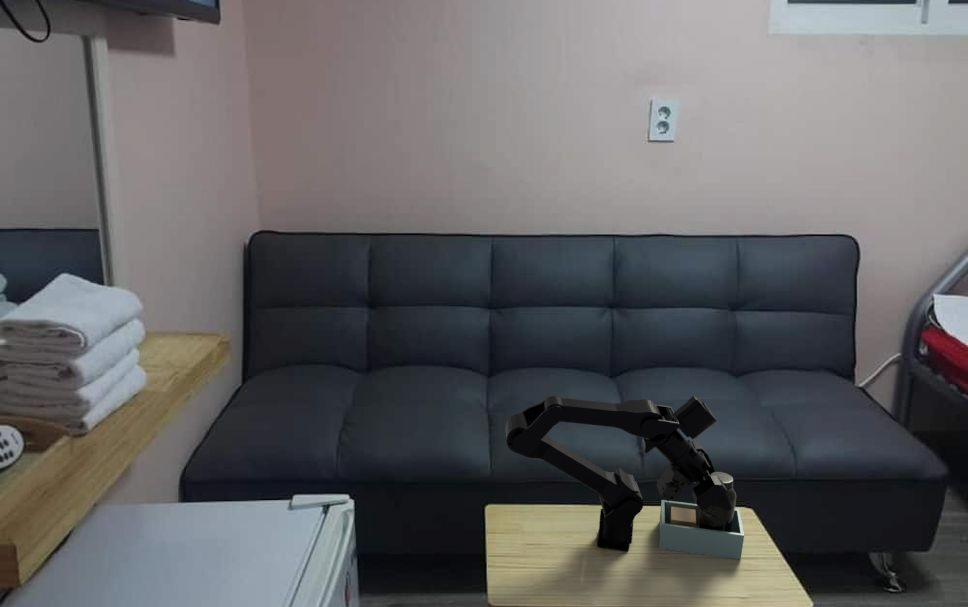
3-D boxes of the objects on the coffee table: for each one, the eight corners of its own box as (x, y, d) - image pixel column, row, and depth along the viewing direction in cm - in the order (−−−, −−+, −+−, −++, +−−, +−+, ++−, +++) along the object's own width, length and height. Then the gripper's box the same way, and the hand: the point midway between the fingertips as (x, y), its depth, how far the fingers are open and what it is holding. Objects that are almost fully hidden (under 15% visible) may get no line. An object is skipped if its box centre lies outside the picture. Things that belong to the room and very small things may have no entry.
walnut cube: (668, 540, 170) (671, 519, 168) (668, 526, 175) (671, 506, 173) (693, 543, 169) (696, 522, 167) (692, 530, 174) (695, 509, 172)
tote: (659, 548, 168) (661, 524, 166) (659, 522, 177) (661, 499, 176) (740, 559, 165) (744, 535, 164) (736, 532, 174) (739, 509, 173)
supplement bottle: (737, 536, 167) (745, 484, 163) (706, 539, 166) (713, 487, 162) (721, 517, 173) (729, 467, 170) (691, 520, 172) (698, 469, 168)
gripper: (637, 452, 174) (683, 498, 178) (655, 499, 157) (705, 550, 160) (678, 420, 172) (723, 467, 176) (701, 464, 154) (751, 516, 158)
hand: (724, 500), depth 168 cm, fingers closed on supplement bottle, 7 cm apart
